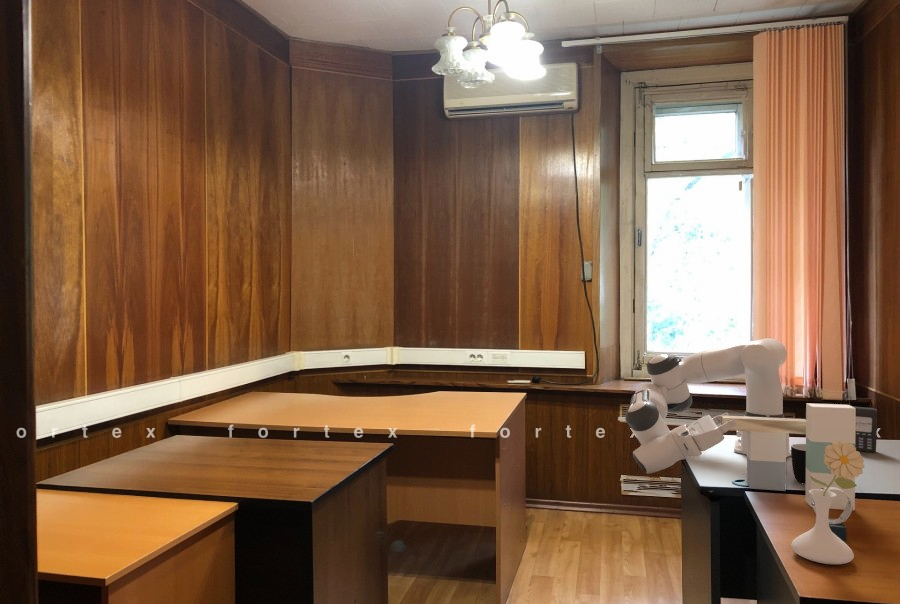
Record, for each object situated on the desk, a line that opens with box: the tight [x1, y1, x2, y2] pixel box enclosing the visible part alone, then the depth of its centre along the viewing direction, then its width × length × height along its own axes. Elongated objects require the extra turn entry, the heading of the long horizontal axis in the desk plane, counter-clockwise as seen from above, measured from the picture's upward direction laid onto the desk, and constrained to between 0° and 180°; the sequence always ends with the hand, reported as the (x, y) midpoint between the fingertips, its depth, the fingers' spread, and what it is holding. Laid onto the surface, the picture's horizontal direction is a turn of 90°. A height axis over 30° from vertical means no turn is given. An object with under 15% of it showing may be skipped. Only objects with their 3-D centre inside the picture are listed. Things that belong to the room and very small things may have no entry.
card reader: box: [851, 405, 878, 454], centre depth 222 cm, size 9×4×15 cm, turn 57°
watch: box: [812, 487, 854, 543], centre depth 147 cm, size 6×8×11 cm
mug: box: [790, 443, 806, 485], centre depth 189 cm, size 12×9×10 cm
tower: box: [805, 402, 856, 511], centre depth 167 cm, size 5×10×26 cm, turn 75°
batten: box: [720, 415, 806, 435], centre depth 182 cm, size 4×22×4 cm, turn 75°
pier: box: [746, 431, 787, 492], centre depth 183 cm, size 5×9×16 cm, turn 75°
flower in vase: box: [790, 440, 865, 565], centre depth 134 cm, size 13×11×25 cm
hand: (731, 418), depth 184 cm, fingers open, 8 cm apart
